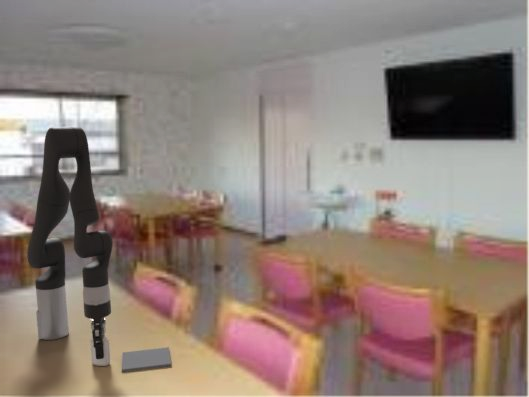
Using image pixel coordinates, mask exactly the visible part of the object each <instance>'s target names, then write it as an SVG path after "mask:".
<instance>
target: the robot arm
mask: <svg viewBox="0 0 529 397" xmlns="http://www.w3.org/2000/svg"><path fill="white" fill-rule="evenodd" d="M88 142H89V141H88V138H87V134H86V132H85V131H84V129H83V128H82V127H80V126H52V127H49V128H48V129H47V130H46V134H45V138H44V145H43V146H44V147H43V160H42V162H43V164H42V173H41V178H40V186H39V190H38V196H37V201H36V209H35V210H36V211H35V217H34V222H33V226H32V227H33V228H32V232H31V235H30V239H29V242H28V246H27V256H26V257H27V262H28V264H29V266H30V267H31V268H32V269H44V268H48V269H47V270H46V271H45V272H44V273H43V274H42V275H39V276H38V277H37V278H36V279H35V281H34V282H35V285H34V286H35V295H36V308H37V310H36V313H35V314H36V324H37V325H36V326H37V335H38V336H37V337H38V338H37V339H38V340H45V341H53V340H58V339H61V338H64V337H66V336H68V335H69V333H70V330H69V317H68V316H69V315H68V304H67V292H66V250H65V245H64V242H63V241H62V239H61V238H59V237H50V238H49V236H50V235H51V233H52V232H53V230H55V228H56V227H58V226H59V224H60V223H61V222H62V221H63V219H64V218H65V217H66V215H67V213H68V210H69V206H70V210H71V214H72V216H73V223H74V231H73V232H74V235H73V249H74V252H75V254H76V256H78V257H79V258H81V259H86V258H87V259H89V258H92V257H95V258H94V260H93V261H91V262H90V263H87V264H86V265H84V267H83V268H82V273H81V274H82V287H83V288H82V289H83V290H82V300H83V314H84V318H87V319H90V320H91V323H90V329H91V334H92V337H91V338H93V343H94V345H93V347H94V348H95V352H96V359H103V358H104V350H103V345H104V343H103V338H104V337H106V330H107V328H106V325H107V319H106V317H108V316H109V315H111V313H112V305H111V303H112V302H111V301H112V300H111V289H110V284H109V273H108V271H109V265H110V260H111V255H112V251H113V238H112V236H111V234H110V233H109V232H108V231H106V230H96V231H89V232H87V228H88V227H89V226H92V225H94V224H96V223H98V222H99V220H100V214H99V209H98V206H97V201H96V198H95V192H94V187H93V182H92V181H93V180H92V178H93V177H92V169H91V167H92V166H91V158H90V149H89V143H88ZM71 158H73V159H75V161H76V173H75V178H74V180H73V184H72V185H71V189H70V188H69V186H68V185H67V183H66V181H65V180H64V178H63V177H62V174H61V172H60V170H59V166H60V165H59V164H60V161H61V159H71ZM102 333H103V335H102ZM96 341H101V342H100V343H96Z"/></svg>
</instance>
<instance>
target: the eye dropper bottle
mask: <svg viewBox="0 0 529 397" xmlns="http://www.w3.org/2000/svg"><path fill="white" fill-rule="evenodd" d="M102 335H103V333H102ZM100 342H101V341H96V343H100ZM103 343H104V345H103V350H104V358H103V359H96V352H95V348H94V347H93V345H94V343H93V338H92V337H91V338H90V354H91V363H92V364H93V365H94V366H97V367H106V366H108V365H110V364H111V351H110V341H109V339H108V337H106V336H105V337H104V338H103Z"/></svg>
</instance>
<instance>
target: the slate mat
mask: <svg viewBox="0 0 529 397" xmlns="http://www.w3.org/2000/svg"><path fill="white" fill-rule="evenodd" d="M170 355H171V354H170V347H159V348H150V349H141V350H132V351H125V352H122V355H121V356H122V357H121V358H122V359H121V373H126V371H128V372H134V371H135V370H136V371H144V370H151V369H152V368H153V369H160V367H161V368H168V367H169V368H170V367H172V360H171V356H170ZM143 369H144V370H143Z"/></svg>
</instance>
